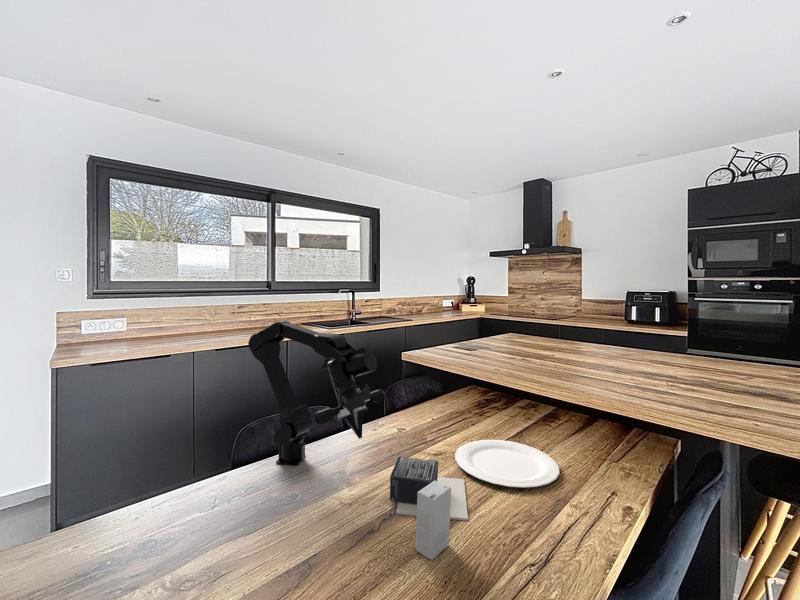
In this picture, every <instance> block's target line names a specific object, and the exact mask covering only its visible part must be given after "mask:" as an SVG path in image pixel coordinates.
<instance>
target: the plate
mask: <svg viewBox="0 0 800 600" xmlns="http://www.w3.org/2000/svg"><path fill="white" fill-rule="evenodd" d="M454 458H455V462H456V463H457V465H458V466H459V468H460V469H462V470H463V471H464V472H465V473H466V474H468V475H470V476H472V477H475V478H476V479H478V480H480V481H482V482H486V483H489V484H492V485H496V486H501V487H506V488H515V489H532V488H539V487H543V486H547V485H550V484H551V483H553V482H555V481H556V480H557V479H558V478H559V476H560V467H559V465H558V463H557V461H556V460H554V458H552V457H551V456H549V455H548V454H547V453H545V452H544V451H541V450H539V449H538V448H535V447H532V446H530V445H527V444H524V443H520V442H516V441H509V440H503V439H502V440H501V439H479V440H473V441H470V442H467V443H465V444H463V445H461V446H460V447H459V448H457V450H456V452H455V454H454Z"/></svg>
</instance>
